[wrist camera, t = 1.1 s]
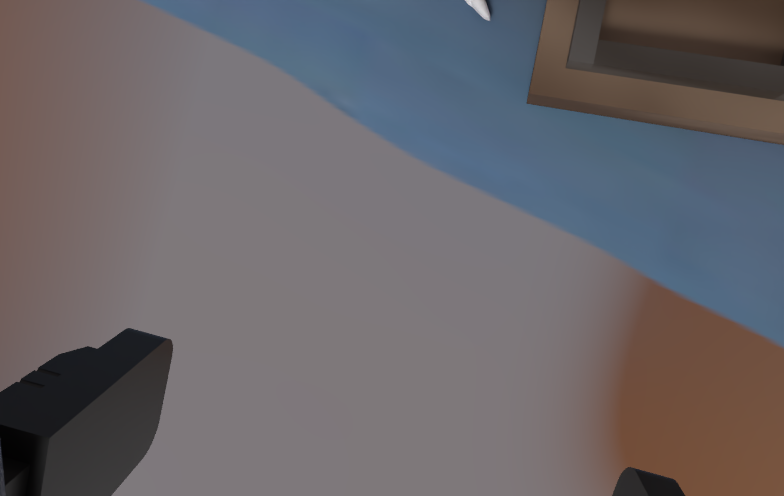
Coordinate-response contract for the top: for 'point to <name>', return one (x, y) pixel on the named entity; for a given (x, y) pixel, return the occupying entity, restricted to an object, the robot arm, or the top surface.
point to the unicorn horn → (480, 8)
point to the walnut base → (666, 63)
